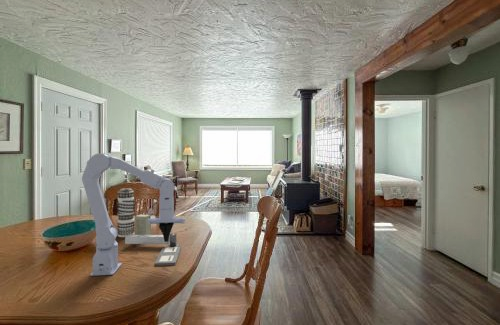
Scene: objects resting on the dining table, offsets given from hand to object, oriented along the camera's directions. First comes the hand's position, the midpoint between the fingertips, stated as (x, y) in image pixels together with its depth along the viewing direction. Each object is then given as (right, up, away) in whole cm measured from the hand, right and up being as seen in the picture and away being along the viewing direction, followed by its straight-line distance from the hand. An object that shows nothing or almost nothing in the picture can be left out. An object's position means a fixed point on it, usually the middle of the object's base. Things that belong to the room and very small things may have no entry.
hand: (166, 241), depth 108 cm
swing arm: (-14, -6, +17) cm, 23 cm away
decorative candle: (-33, -7, +35) cm, 49 cm away
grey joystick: (-2, -8, +17) cm, 19 cm away
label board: (-1, -8, +5) cm, 10 cm away
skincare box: (-21, -8, +29) cm, 36 cm away
